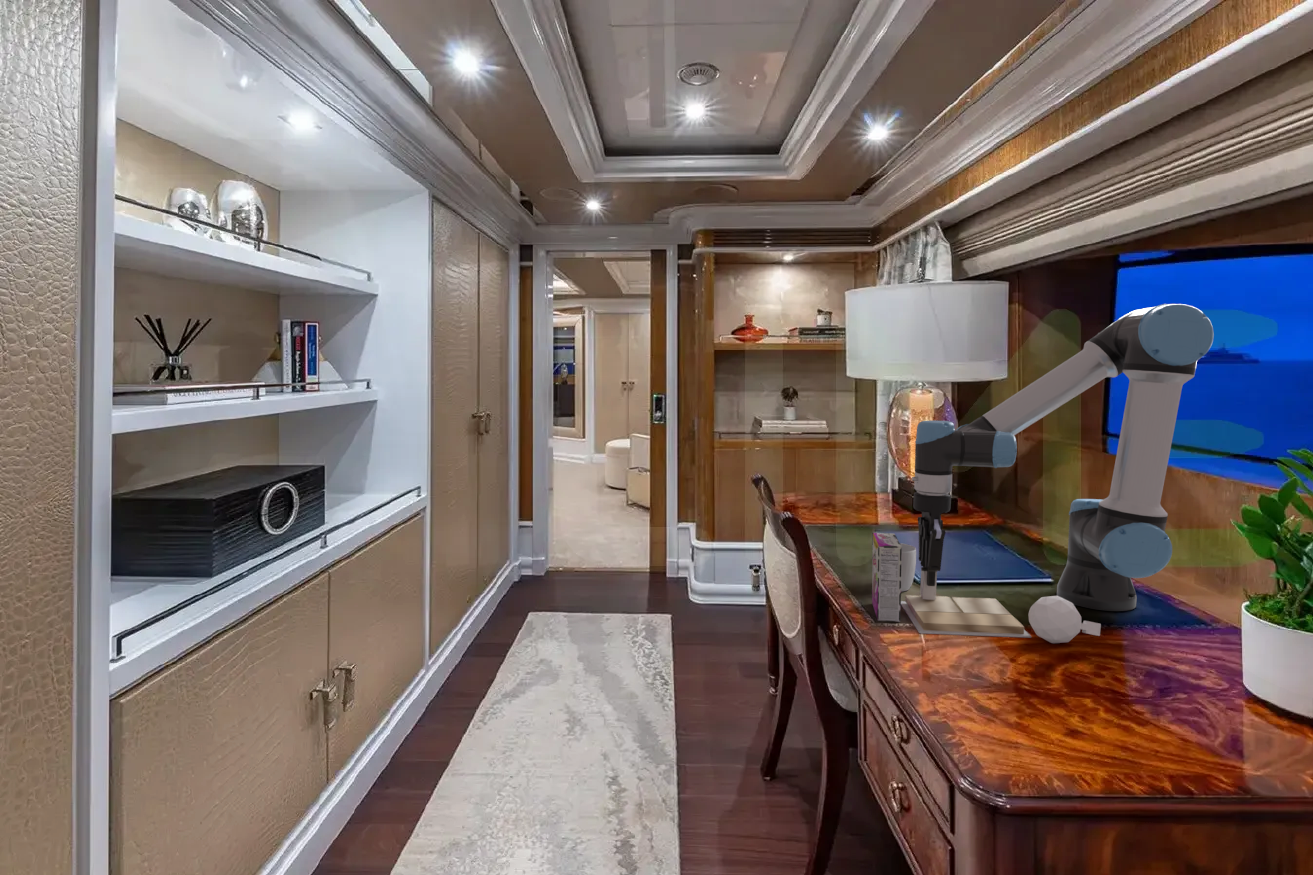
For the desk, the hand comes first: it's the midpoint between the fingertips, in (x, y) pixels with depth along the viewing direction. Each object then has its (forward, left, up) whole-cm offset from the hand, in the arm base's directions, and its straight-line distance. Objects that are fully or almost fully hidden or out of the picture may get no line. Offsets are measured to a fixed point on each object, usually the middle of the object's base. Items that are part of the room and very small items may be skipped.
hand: (927, 597), depth 150 cm
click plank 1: (0, +3, -2) cm, 3 cm away
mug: (+3, -15, -3) cm, 16 cm away
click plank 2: (-10, +3, -2) cm, 11 cm away
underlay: (-5, +6, -2) cm, 8 cm away
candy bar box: (+10, +4, -3) cm, 11 cm away
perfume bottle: (-21, +17, -3) cm, 27 cm away
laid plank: (-5, +11, -2) cm, 12 cm away
